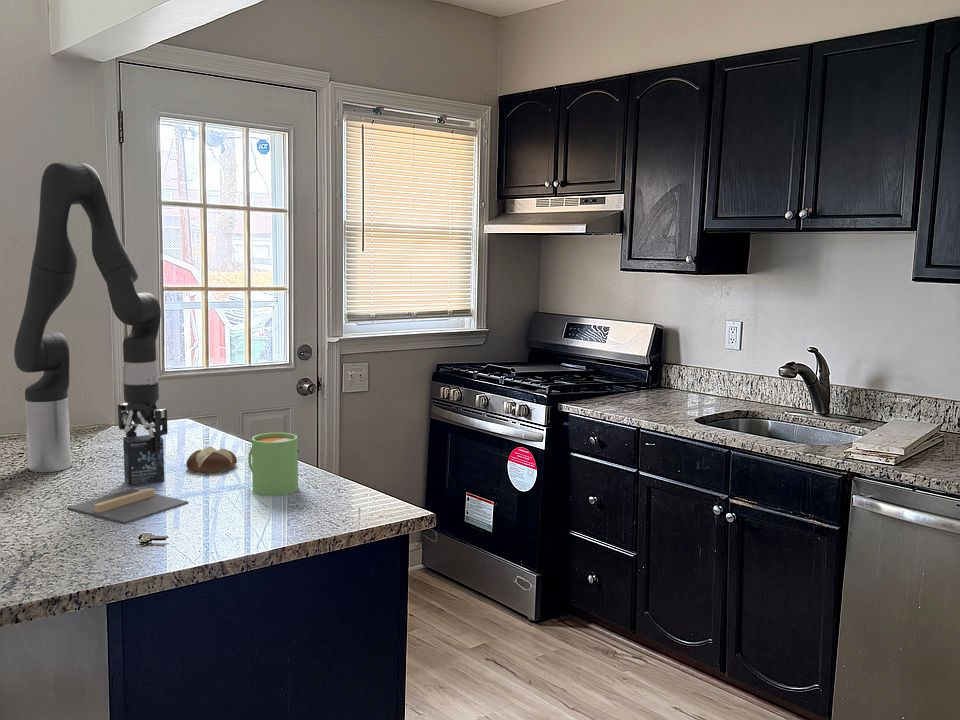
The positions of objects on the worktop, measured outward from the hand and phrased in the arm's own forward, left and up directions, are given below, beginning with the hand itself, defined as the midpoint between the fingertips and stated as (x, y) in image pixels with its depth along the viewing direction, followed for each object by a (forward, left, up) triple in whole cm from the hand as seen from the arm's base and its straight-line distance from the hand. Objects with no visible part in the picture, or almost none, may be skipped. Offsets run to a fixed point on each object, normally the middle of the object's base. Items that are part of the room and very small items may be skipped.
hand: (143, 450), depth 200 cm
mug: (+28, +12, -8) cm, 31 cm away
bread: (+4, +17, -8) cm, 19 cm away
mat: (+12, -14, -7) cm, 20 cm away
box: (0, 0, -8) cm, 8 cm away
